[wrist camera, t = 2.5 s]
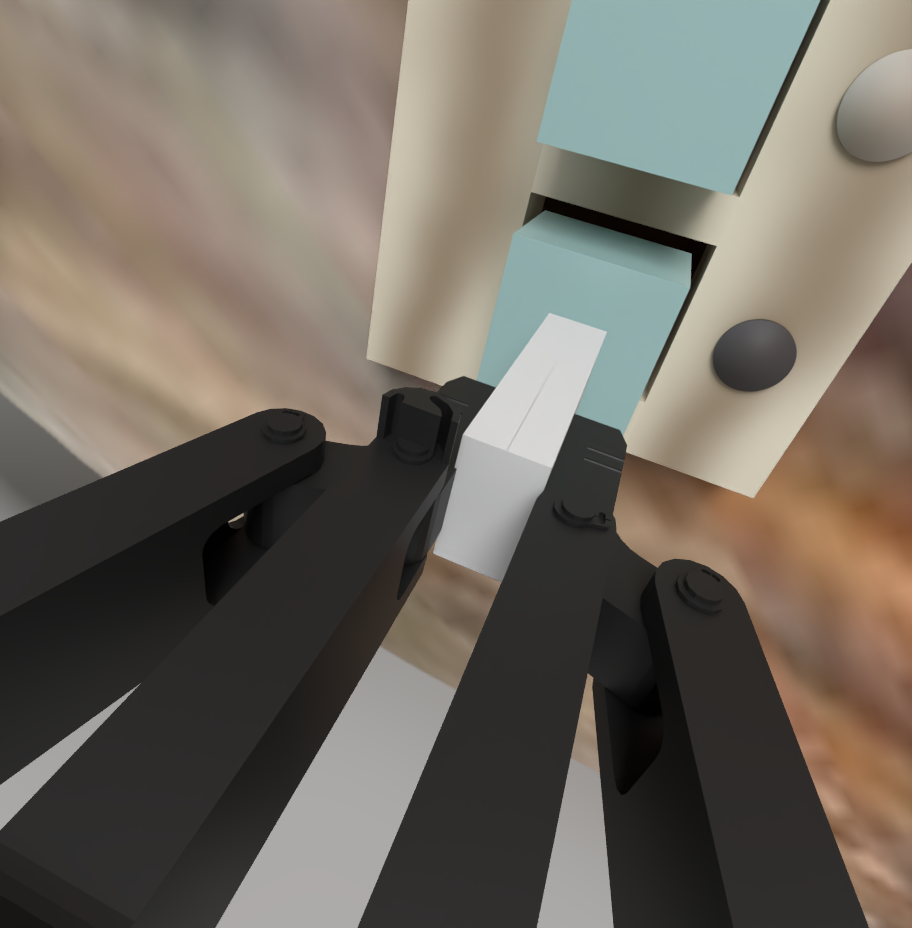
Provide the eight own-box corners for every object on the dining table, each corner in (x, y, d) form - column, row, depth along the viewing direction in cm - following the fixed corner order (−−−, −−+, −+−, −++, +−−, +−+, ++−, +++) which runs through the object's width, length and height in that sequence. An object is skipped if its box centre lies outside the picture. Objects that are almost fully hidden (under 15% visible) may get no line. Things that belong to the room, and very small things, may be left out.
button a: (507, 344, 21) (474, 387, 18) (545, 210, 18) (513, 232, 15) (633, 387, 20) (621, 439, 17) (691, 253, 18) (690, 287, 15)
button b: (566, 133, 17) (536, 141, 14) (625, -81, 14) (604, -132, 11) (725, 177, 16) (731, 195, 13) (820, -41, 14) (858, -84, 10)
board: (396, 334, 26) (364, 360, 24) (551, -710, 12) (511, -927, 9) (747, 457, 23) (753, 501, 21) (1471, -695, 9) (1756, -988, 7)
